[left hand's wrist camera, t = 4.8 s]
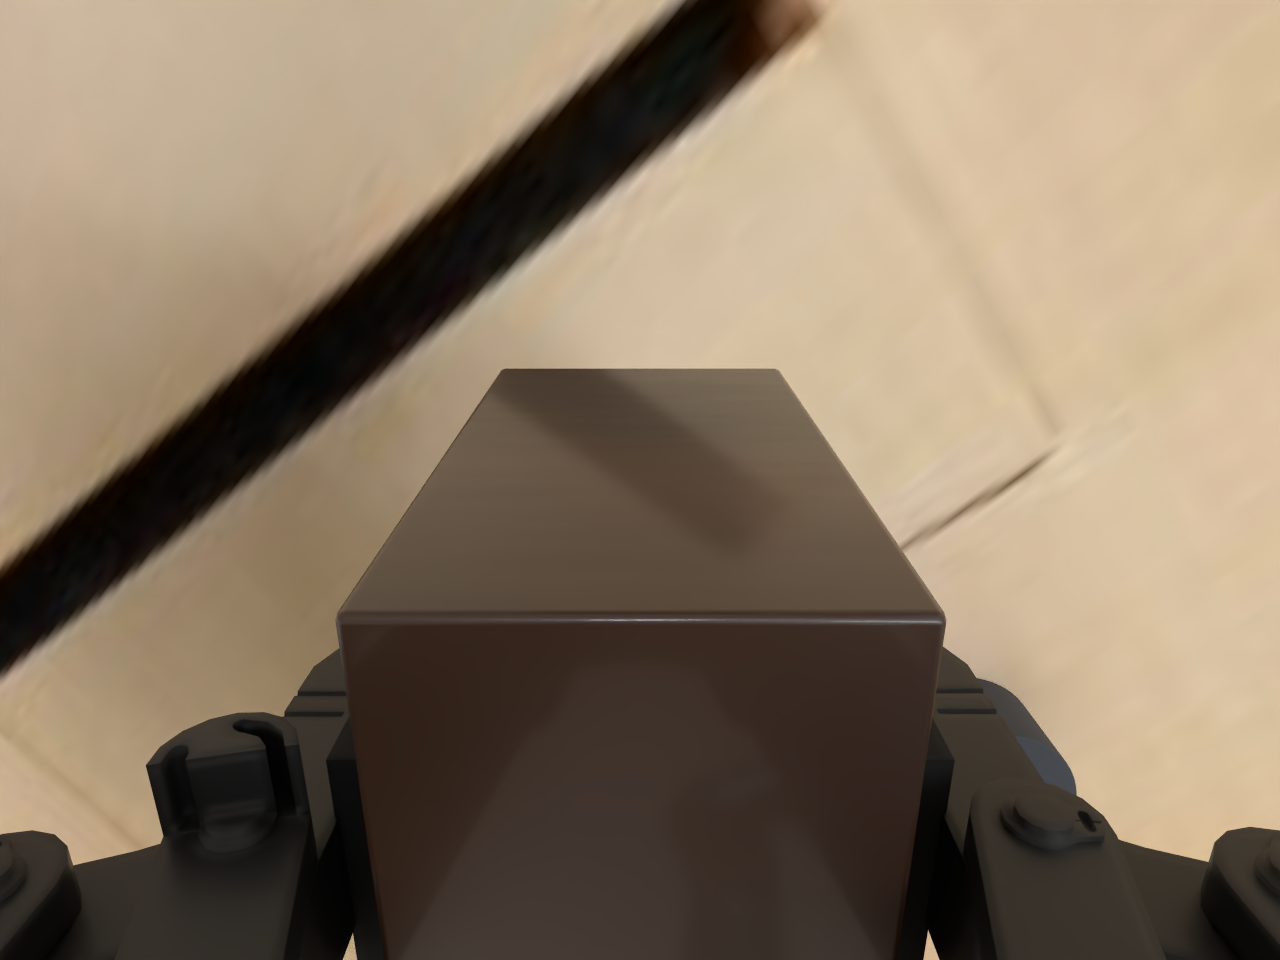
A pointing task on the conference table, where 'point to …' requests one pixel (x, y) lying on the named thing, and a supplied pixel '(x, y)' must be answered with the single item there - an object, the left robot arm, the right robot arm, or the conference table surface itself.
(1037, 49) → the conference table surface
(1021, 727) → the puck
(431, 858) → the bar
